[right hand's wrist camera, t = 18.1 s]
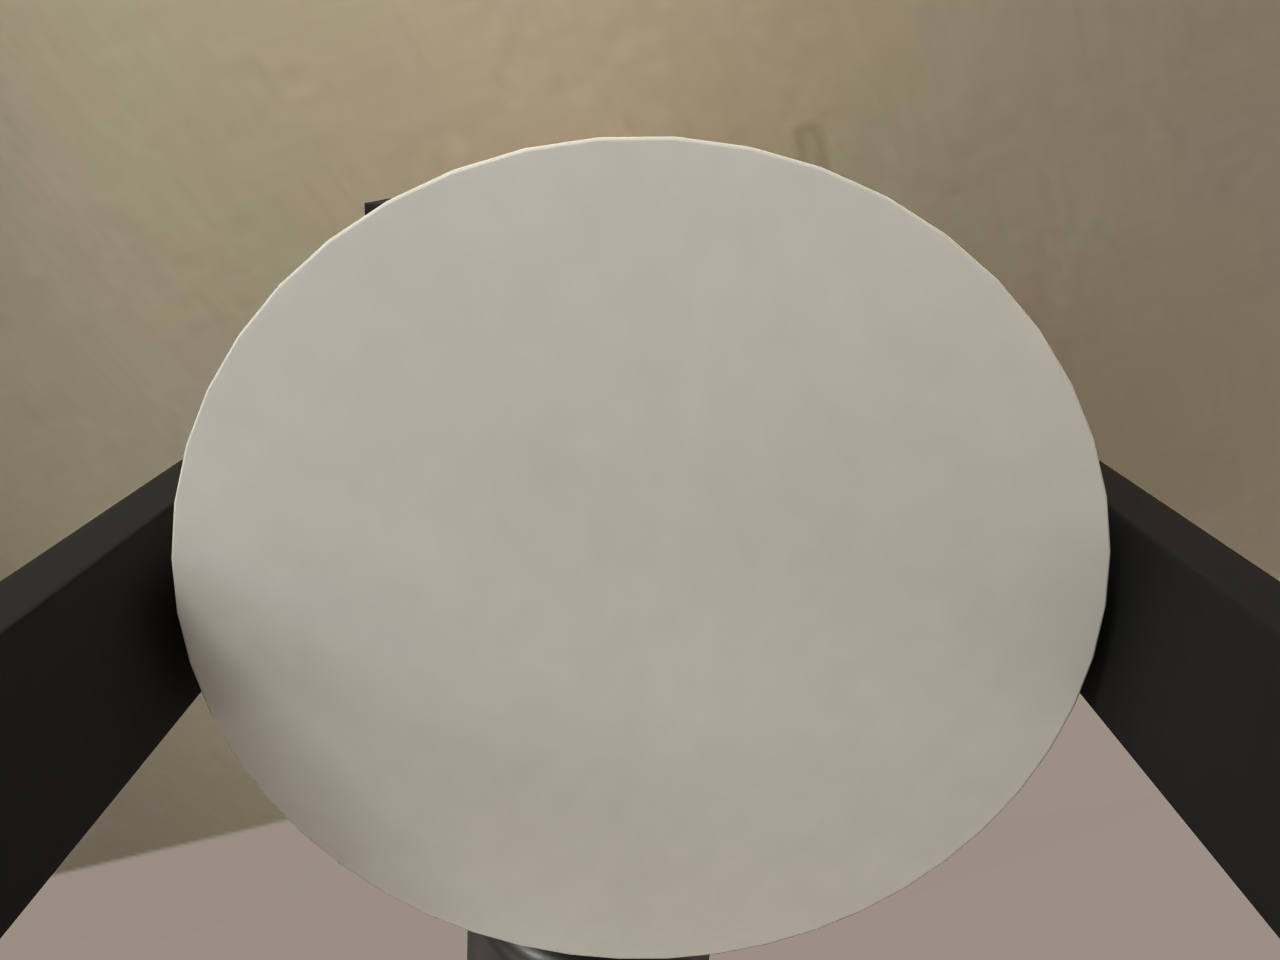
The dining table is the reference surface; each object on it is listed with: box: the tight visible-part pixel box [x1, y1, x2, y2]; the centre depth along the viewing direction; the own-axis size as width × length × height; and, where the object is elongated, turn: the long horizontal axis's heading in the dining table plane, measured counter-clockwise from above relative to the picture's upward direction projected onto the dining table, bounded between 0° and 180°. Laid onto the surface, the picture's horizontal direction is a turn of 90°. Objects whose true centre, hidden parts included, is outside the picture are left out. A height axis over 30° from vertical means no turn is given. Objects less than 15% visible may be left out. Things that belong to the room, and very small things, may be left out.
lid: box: [172, 136, 1110, 959], centre depth 11 cm, size 12×12×2 cm
